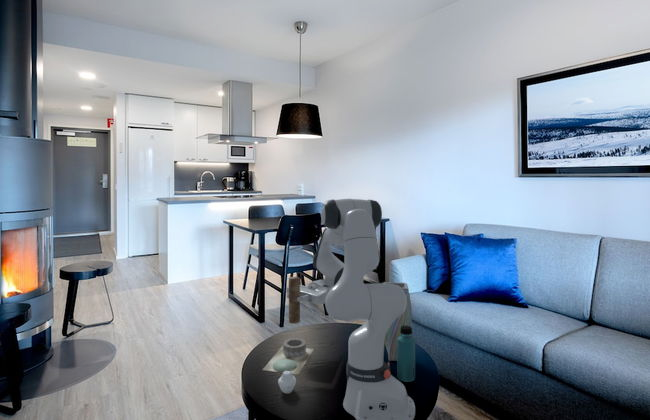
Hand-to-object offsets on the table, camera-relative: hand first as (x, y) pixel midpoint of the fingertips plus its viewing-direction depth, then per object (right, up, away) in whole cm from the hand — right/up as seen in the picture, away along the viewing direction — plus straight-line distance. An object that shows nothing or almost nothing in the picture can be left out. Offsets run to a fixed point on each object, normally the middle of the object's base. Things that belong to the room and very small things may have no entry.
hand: (292, 297), depth 153 cm
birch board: (-1, -25, -4) cm, 25 cm away
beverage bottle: (+42, -26, -18) cm, 52 cm away
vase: (+41, -25, 0) cm, 48 cm away
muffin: (0, -26, -24) cm, 36 cm away
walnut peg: (+1, -10, +1) cm, 10 cm away
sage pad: (-2, -24, -10) cm, 26 cm away
